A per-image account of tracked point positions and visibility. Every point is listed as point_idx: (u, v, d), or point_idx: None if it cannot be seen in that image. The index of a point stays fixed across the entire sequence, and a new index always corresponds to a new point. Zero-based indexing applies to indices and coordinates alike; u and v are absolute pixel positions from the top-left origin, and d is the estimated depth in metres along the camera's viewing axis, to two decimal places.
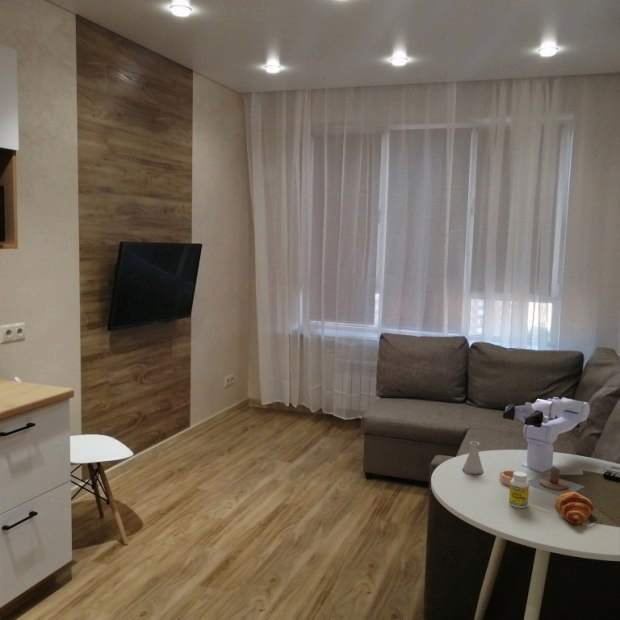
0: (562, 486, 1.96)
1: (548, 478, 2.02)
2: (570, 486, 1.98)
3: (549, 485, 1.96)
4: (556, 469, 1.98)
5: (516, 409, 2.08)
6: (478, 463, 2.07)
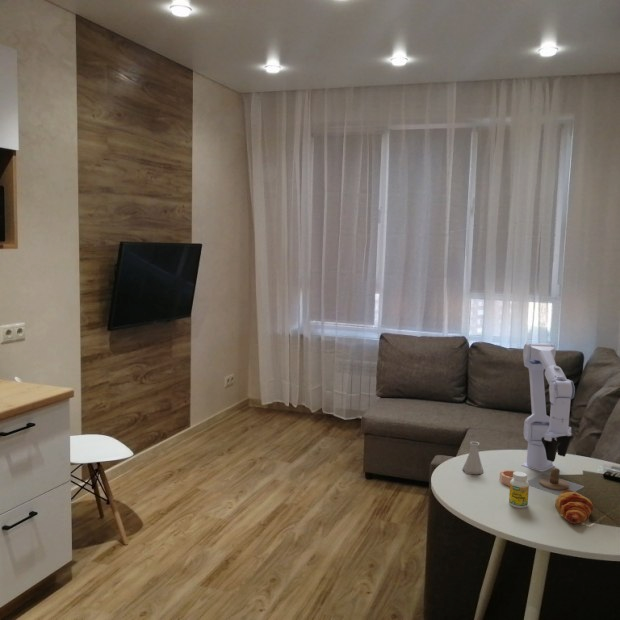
0: (562, 486, 1.96)
1: (548, 478, 2.02)
2: (570, 486, 1.98)
3: (549, 485, 1.96)
4: (556, 469, 1.98)
5: None
6: (478, 463, 2.07)
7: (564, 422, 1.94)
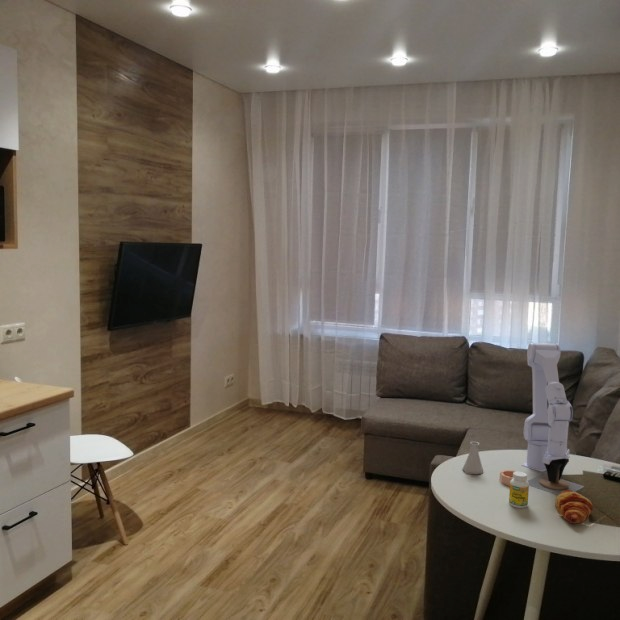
0: (562, 486, 1.96)
1: None
2: (570, 486, 1.98)
3: (549, 485, 1.96)
4: None
5: None
6: (478, 463, 2.07)
7: (562, 445, 1.94)
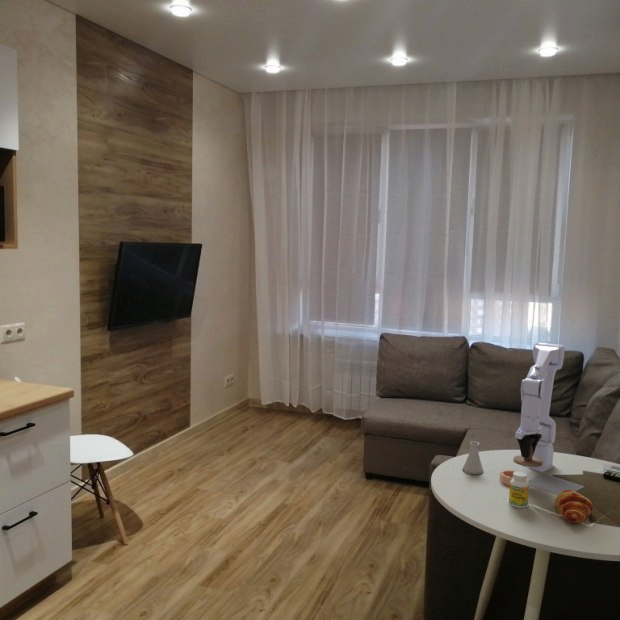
0: (536, 462, 1.95)
1: (521, 456, 2.02)
2: (570, 486, 1.98)
3: (523, 462, 1.96)
4: None
5: None
6: (478, 463, 2.07)
7: (535, 420, 1.94)
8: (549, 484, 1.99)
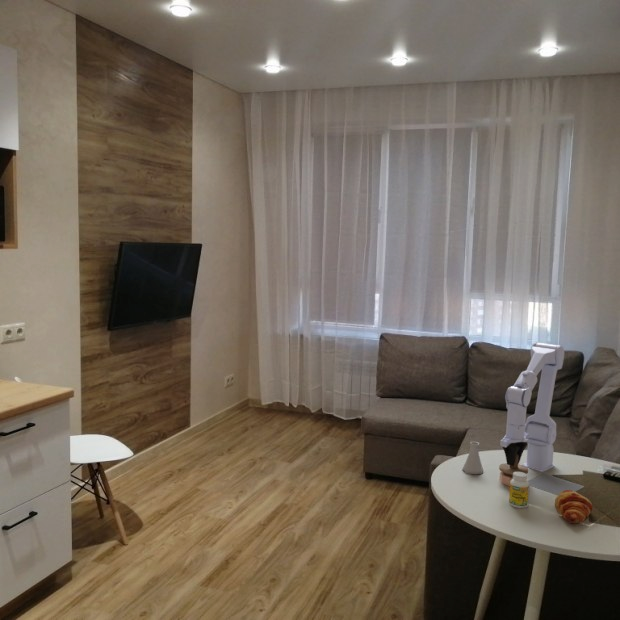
0: (522, 471, 1.96)
1: None
2: (570, 486, 1.98)
3: (509, 470, 1.96)
4: None
5: None
6: (478, 463, 2.07)
7: (520, 428, 1.95)
8: (549, 484, 1.99)
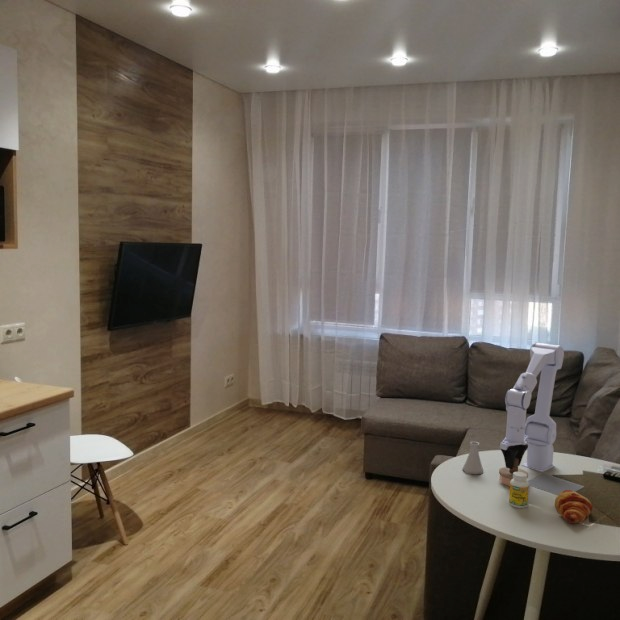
0: None
1: (507, 468, 2.03)
2: (570, 486, 1.98)
3: (509, 475, 1.97)
4: (515, 459, 1.99)
5: None
6: (478, 463, 2.07)
7: (520, 431, 1.95)
8: (549, 484, 1.99)
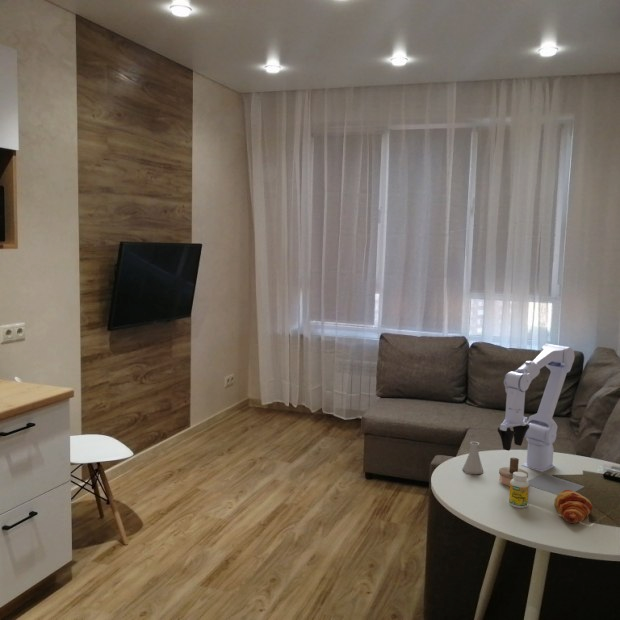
0: None
1: (507, 468, 2.03)
2: (570, 486, 1.98)
3: (509, 475, 1.97)
4: (515, 459, 1.99)
5: None
6: (478, 463, 2.07)
7: (519, 412, 2.00)
8: (549, 484, 1.99)
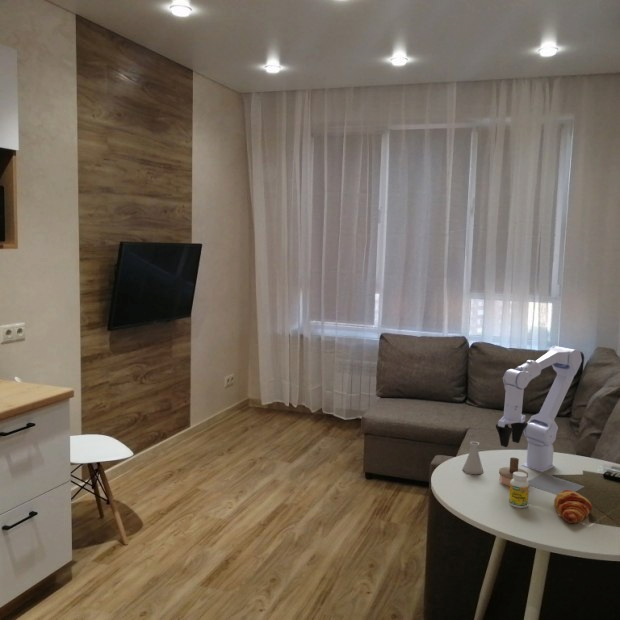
0: None
1: (507, 468, 2.03)
2: (570, 486, 1.98)
3: (509, 475, 1.97)
4: (515, 459, 1.99)
5: None
6: (478, 463, 2.07)
7: (517, 409, 2.03)
8: (549, 484, 1.99)
